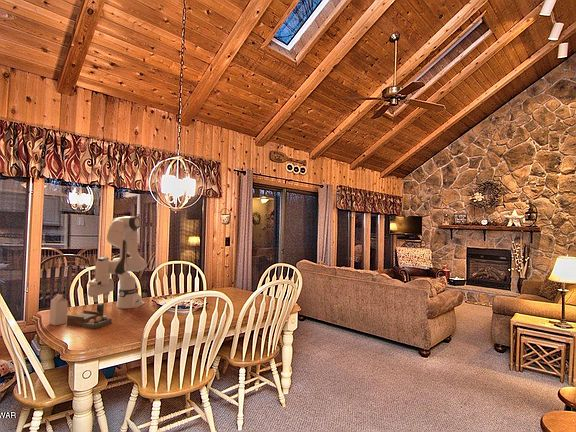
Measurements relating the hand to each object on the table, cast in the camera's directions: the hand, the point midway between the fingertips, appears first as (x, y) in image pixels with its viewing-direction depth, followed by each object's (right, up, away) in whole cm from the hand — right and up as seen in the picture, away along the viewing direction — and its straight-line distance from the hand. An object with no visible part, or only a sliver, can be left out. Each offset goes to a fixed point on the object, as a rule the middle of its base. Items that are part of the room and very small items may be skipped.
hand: (101, 300), depth 241 cm
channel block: (-5, -12, -13) cm, 19 cm away
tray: (+6, -13, -16) cm, 21 cm away
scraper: (-1, -13, -1) cm, 13 cm away
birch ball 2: (+5, -10, -13) cm, 17 cm away
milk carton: (-20, -12, -16) cm, 28 cm away
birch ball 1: (+4, -10, -19) cm, 21 cm away
